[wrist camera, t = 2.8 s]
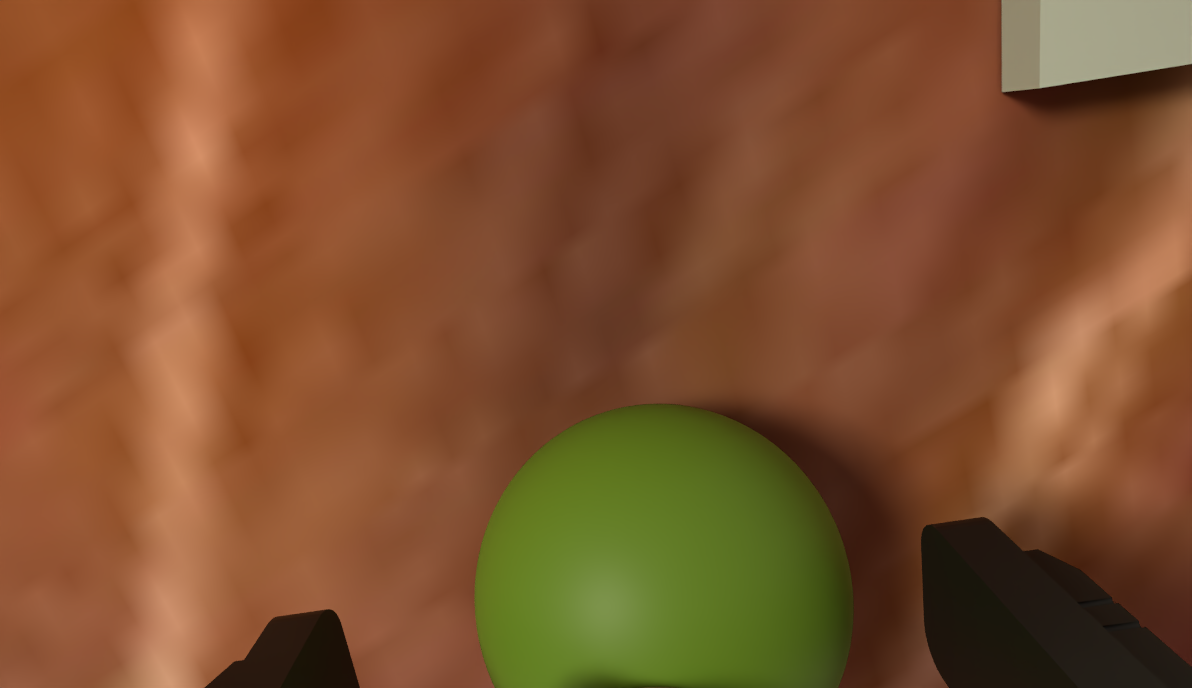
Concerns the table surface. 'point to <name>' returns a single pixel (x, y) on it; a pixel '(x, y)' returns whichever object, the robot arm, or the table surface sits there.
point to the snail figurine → (663, 562)
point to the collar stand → (1091, 39)
